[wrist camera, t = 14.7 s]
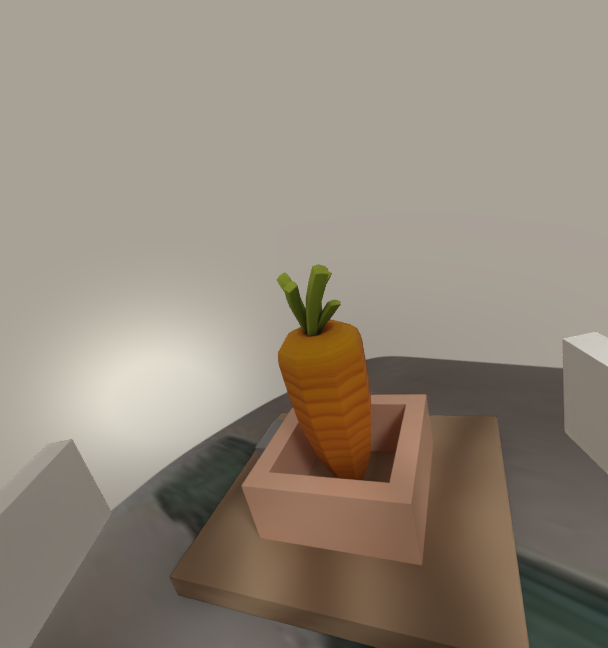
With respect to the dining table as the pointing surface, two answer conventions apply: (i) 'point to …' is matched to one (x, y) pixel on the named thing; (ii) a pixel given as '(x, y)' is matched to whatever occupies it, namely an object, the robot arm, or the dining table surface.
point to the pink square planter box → (347, 487)
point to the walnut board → (381, 574)
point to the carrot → (327, 379)
